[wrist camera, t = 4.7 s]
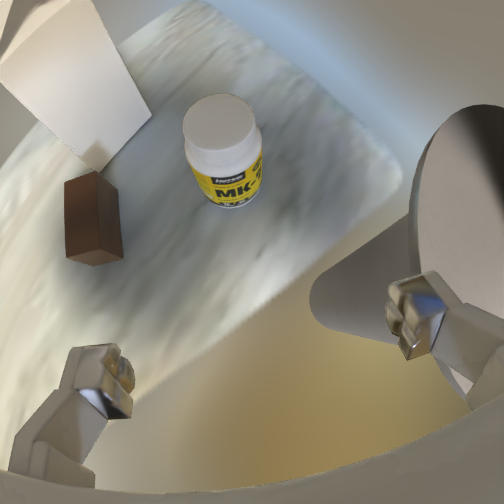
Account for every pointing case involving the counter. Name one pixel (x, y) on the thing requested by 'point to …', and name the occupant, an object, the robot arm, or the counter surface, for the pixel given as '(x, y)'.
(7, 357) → the counter surface
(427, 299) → the robot arm
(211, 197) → the supplement bottle
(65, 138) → the milk carton
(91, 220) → the brown wooden block
